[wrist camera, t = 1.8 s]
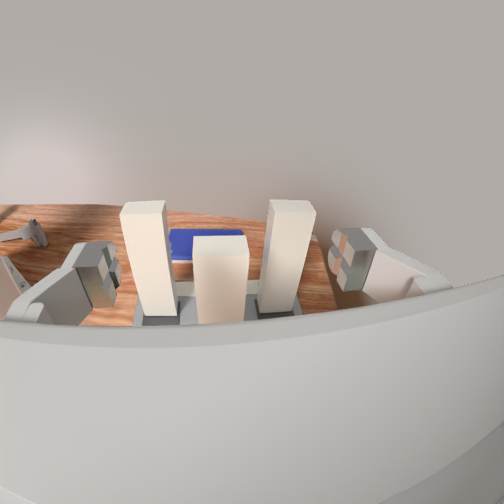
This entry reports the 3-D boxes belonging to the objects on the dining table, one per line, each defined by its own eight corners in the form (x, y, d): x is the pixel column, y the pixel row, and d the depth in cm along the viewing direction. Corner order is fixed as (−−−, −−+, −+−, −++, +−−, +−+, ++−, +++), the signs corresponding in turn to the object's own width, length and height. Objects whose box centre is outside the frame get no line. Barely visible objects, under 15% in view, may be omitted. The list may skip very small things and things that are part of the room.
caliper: (49, 246, 42) (39, 218, 38) (46, 249, 41) (36, 221, 37) (-5, 239, 42) (-14, 216, 38) (-8, 242, 41) (-17, 219, 37)
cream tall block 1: (176, 315, 32) (161, 213, 23) (145, 315, 31) (119, 214, 23) (177, 300, 34) (165, 200, 25) (147, 301, 33) (125, 202, 24)
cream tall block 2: (291, 311, 34) (316, 212, 25) (259, 313, 33) (274, 212, 25) (287, 297, 36) (308, 200, 27) (256, 298, 35) (269, 199, 27)
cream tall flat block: (240, 357, 28) (249, 255, 20) (202, 358, 28) (192, 256, 19) (238, 339, 30) (245, 235, 21) (202, 340, 29) (193, 236, 21)
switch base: (313, 362, 30) (316, 355, 29) (129, 369, 27) (125, 363, 26) (289, 284, 40) (291, 277, 39) (142, 288, 37) (140, 280, 36)
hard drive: (162, 257, 41) (244, 258, 42) (170, 227, 47) (241, 228, 49) (164, 265, 42) (243, 266, 43) (171, 235, 48) (240, 235, 49)
